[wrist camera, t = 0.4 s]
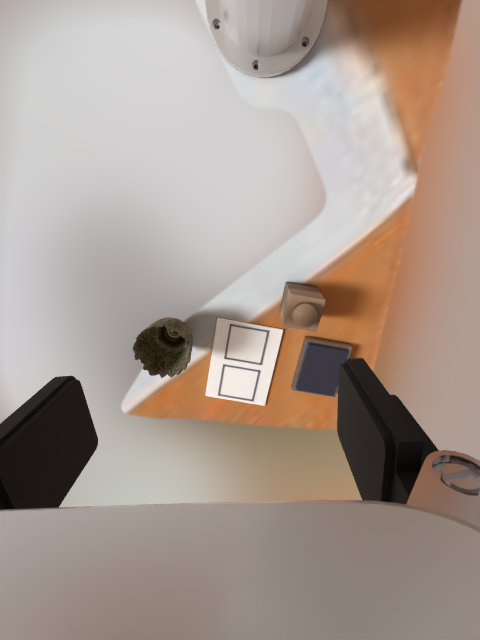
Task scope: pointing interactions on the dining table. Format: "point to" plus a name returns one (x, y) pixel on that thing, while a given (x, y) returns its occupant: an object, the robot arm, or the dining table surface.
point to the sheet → (242, 361)
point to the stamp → (301, 307)
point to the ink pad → (320, 366)
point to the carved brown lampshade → (164, 347)
